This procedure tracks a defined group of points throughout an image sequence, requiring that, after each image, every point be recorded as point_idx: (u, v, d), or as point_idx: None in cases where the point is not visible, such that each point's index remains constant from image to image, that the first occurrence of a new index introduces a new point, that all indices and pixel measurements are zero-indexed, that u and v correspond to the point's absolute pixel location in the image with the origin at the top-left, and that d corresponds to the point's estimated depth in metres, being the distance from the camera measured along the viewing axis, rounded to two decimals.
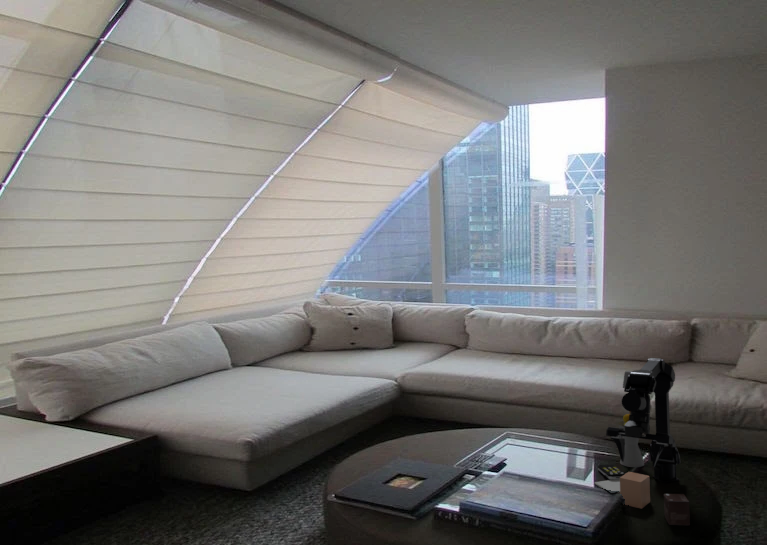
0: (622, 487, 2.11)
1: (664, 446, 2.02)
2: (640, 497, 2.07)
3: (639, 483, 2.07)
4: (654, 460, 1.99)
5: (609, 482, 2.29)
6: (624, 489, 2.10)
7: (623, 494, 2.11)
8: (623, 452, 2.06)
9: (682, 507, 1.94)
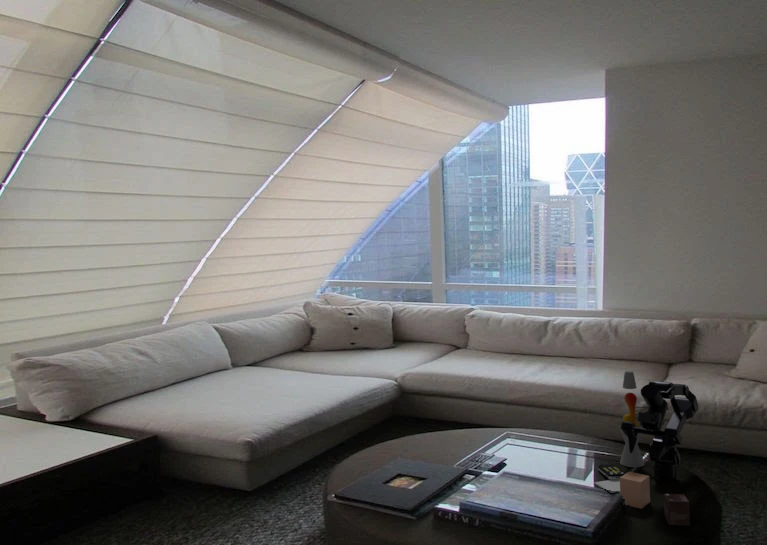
0: (622, 487, 2.11)
1: (672, 446, 2.16)
2: (640, 497, 2.07)
3: (639, 483, 2.07)
4: (660, 452, 2.14)
5: (609, 482, 2.29)
6: (624, 489, 2.10)
7: (623, 494, 2.11)
8: (633, 445, 2.21)
9: (682, 507, 1.94)
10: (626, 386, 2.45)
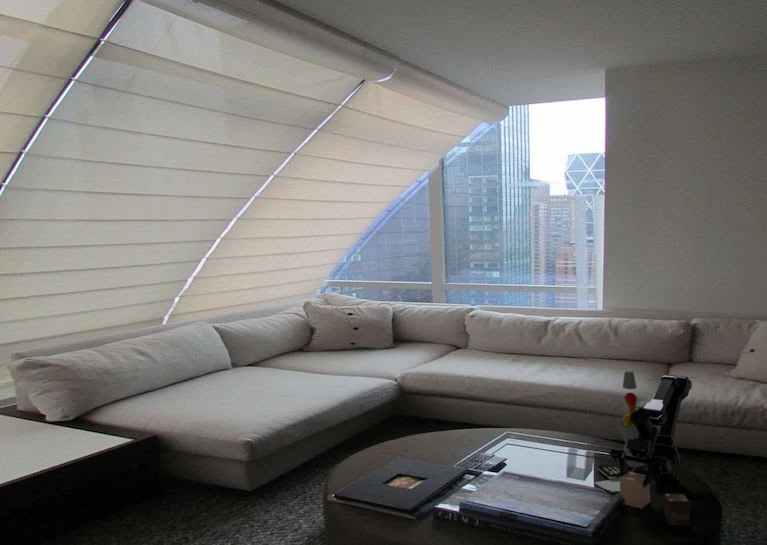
0: (622, 487, 2.11)
1: (658, 474, 2.11)
2: (640, 497, 2.07)
3: (639, 483, 2.07)
4: (645, 480, 2.08)
5: (609, 482, 2.29)
6: (624, 489, 2.10)
7: (623, 494, 2.11)
8: None
9: (682, 507, 1.94)
10: (626, 386, 2.45)
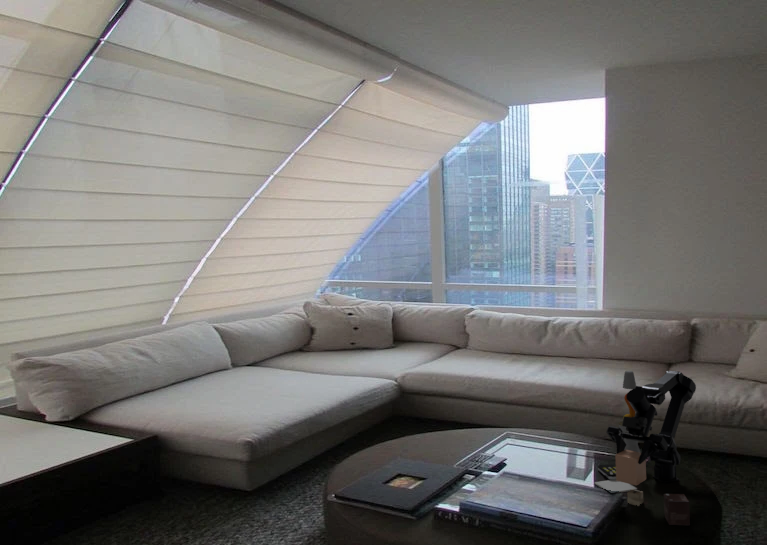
0: (617, 464, 2.12)
1: (654, 451, 2.11)
2: (635, 474, 2.08)
3: (634, 460, 2.08)
4: (641, 457, 2.09)
5: (609, 482, 2.29)
6: (619, 466, 2.12)
7: (618, 471, 2.12)
8: (621, 451, 2.16)
9: (682, 507, 1.94)
10: (626, 386, 2.45)
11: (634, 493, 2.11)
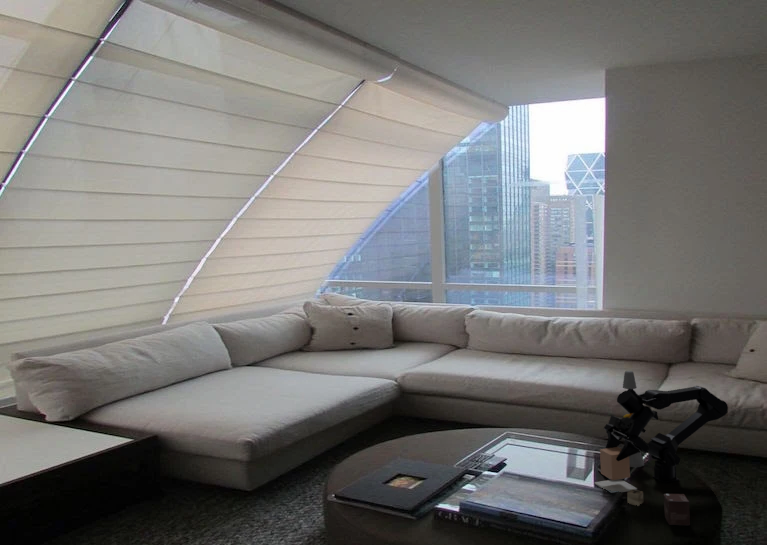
0: (601, 458, 2.27)
1: (637, 452, 2.21)
2: (611, 469, 2.22)
3: (610, 456, 2.22)
4: (619, 454, 2.21)
5: (609, 482, 2.29)
6: (602, 460, 2.26)
7: (602, 465, 2.27)
8: None
9: (682, 507, 1.94)
10: (626, 386, 2.45)
11: (634, 493, 2.11)
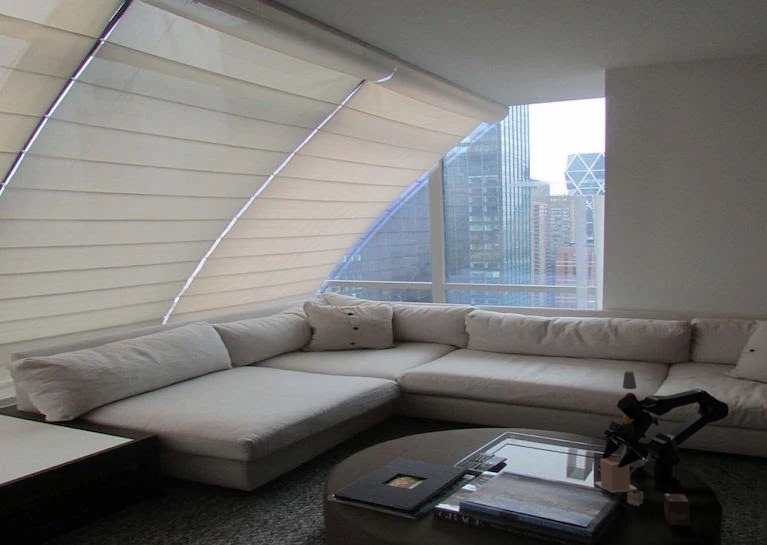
0: (601, 468, 2.27)
1: (639, 459, 2.20)
2: (611, 479, 2.22)
3: (610, 466, 2.22)
4: (621, 461, 2.20)
5: None
6: (602, 470, 2.27)
7: (602, 475, 2.27)
8: (608, 452, 2.30)
9: (682, 507, 1.94)
10: (626, 386, 2.45)
11: (634, 493, 2.11)
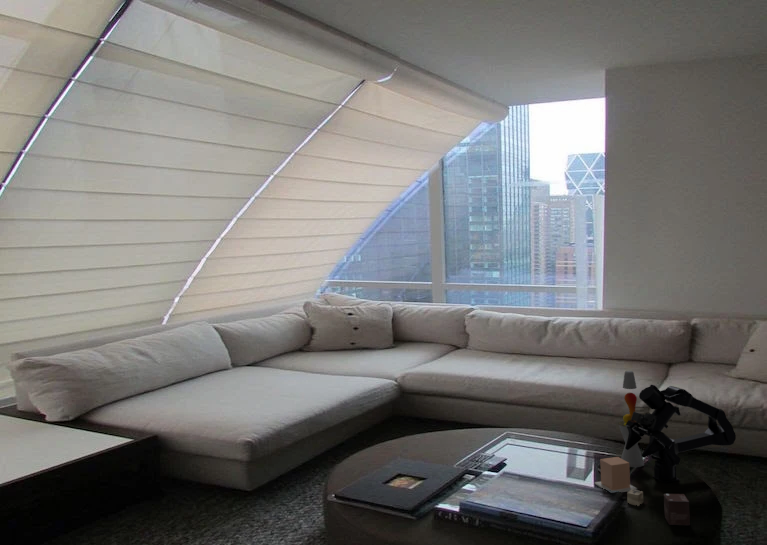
0: (601, 468, 2.27)
1: (662, 448, 2.22)
2: (611, 479, 2.22)
3: (610, 466, 2.22)
4: (644, 451, 2.22)
5: None
6: (602, 470, 2.27)
7: (602, 475, 2.27)
8: (631, 443, 2.32)
9: (682, 507, 1.94)
10: (626, 386, 2.45)
11: (634, 493, 2.11)
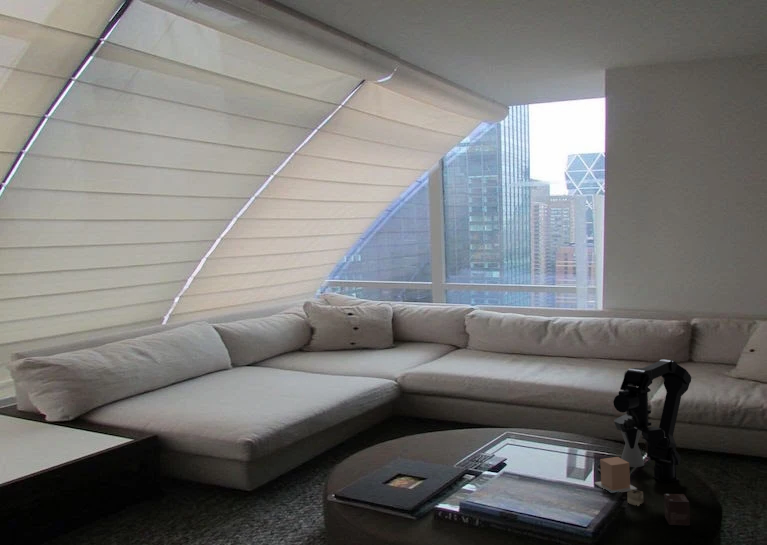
0: (601, 468, 2.27)
1: (659, 439, 2.14)
2: (611, 479, 2.22)
3: (610, 466, 2.22)
4: (647, 451, 2.16)
5: None
6: (602, 470, 2.27)
7: (602, 475, 2.27)
8: (632, 440, 2.25)
9: (682, 507, 1.94)
10: None
11: (634, 493, 2.11)
